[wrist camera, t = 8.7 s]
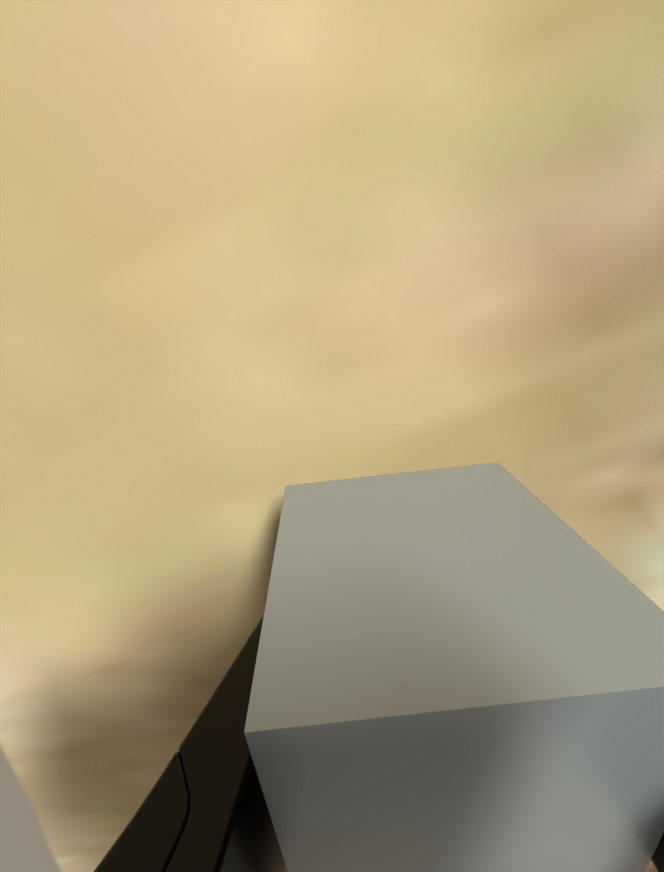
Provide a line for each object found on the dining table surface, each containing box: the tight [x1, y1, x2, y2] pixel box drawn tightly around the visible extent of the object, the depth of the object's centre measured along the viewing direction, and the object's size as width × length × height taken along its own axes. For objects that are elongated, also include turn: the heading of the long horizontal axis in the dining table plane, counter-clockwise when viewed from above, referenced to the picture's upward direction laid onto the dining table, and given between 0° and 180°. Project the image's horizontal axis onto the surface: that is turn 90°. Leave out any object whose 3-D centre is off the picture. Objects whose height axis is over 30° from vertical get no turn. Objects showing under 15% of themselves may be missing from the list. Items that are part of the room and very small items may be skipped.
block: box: [244, 463, 664, 872], centre depth 7 cm, size 5×5×5 cm
